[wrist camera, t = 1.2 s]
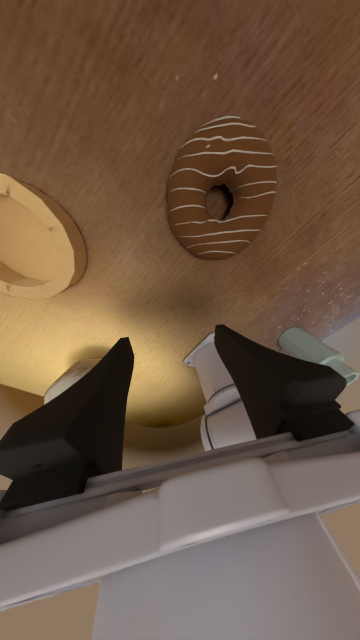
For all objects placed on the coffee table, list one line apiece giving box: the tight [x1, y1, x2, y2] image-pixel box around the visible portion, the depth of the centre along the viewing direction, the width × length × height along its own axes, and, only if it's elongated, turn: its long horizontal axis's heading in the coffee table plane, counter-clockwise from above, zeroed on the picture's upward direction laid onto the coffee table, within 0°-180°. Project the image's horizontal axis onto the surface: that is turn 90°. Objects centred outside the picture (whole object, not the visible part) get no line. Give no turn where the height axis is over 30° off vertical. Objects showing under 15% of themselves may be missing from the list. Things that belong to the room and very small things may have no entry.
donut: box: [167, 116, 277, 260], centre depth 14 cm, size 11×11×4 cm
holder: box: [0, 173, 87, 300], centre depth 14 cm, size 10×10×3 cm
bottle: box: [278, 327, 359, 386], centre depth 24 cm, size 5×5×10 cm
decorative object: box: [44, 358, 102, 404], centre depth 20 cm, size 9×9×10 cm
